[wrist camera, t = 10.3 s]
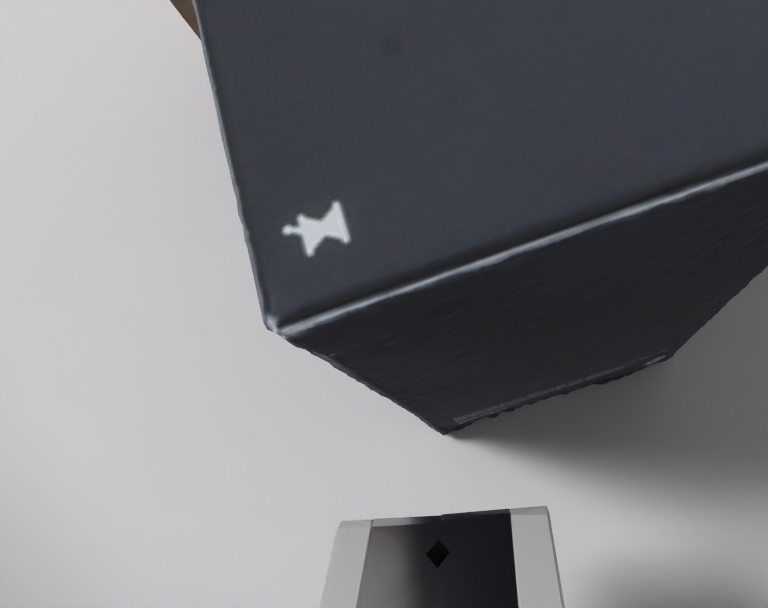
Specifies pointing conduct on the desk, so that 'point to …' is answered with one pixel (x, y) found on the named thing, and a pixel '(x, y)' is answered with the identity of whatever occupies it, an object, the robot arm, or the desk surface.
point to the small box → (493, 184)
